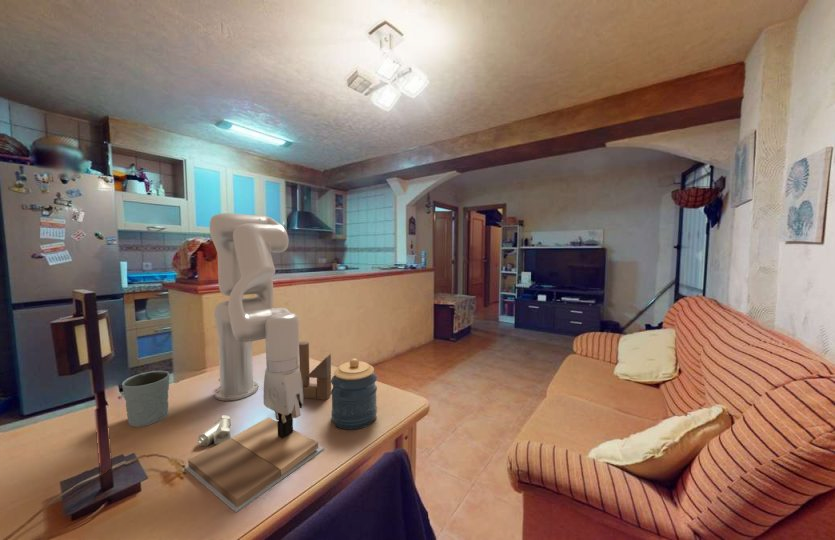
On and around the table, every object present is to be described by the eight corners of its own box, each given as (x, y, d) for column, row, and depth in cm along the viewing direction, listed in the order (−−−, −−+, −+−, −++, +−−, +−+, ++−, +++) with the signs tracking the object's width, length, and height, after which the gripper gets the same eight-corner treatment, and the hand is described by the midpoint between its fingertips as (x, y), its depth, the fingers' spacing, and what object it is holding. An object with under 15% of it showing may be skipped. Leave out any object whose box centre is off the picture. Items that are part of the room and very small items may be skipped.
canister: (357, 436, 80) (356, 371, 79) (321, 422, 87) (320, 361, 85) (385, 413, 92) (385, 355, 90) (352, 401, 98) (352, 348, 96)
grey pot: (162, 405, 94) (159, 368, 93) (178, 414, 89) (176, 375, 88) (118, 422, 85) (115, 380, 84) (134, 433, 81) (131, 389, 80)
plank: (231, 443, 76) (230, 438, 76) (269, 422, 84) (268, 417, 84) (281, 476, 66) (280, 469, 65) (318, 448, 74) (318, 442, 74)
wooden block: (327, 400, 99) (326, 345, 97) (295, 398, 100) (294, 344, 99) (331, 394, 102) (331, 342, 101) (301, 392, 104) (300, 340, 102)
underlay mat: (184, 468, 68) (184, 467, 68) (272, 422, 86) (272, 421, 86) (236, 512, 57) (236, 510, 57) (323, 449, 75) (323, 447, 75)
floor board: (188, 466, 68) (188, 459, 68) (230, 444, 76) (230, 438, 76) (237, 507, 58) (237, 499, 58) (280, 476, 65) (280, 469, 65)
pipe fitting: (198, 453, 74) (231, 442, 77) (196, 438, 74) (229, 427, 77) (201, 435, 81) (231, 426, 84) (199, 421, 80) (229, 412, 84)
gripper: (251, 362, 76) (253, 432, 78) (289, 375, 68) (291, 453, 70) (278, 353, 83) (280, 418, 84) (316, 364, 75) (317, 436, 76)
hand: (285, 434), depth 77 cm, fingers closed
